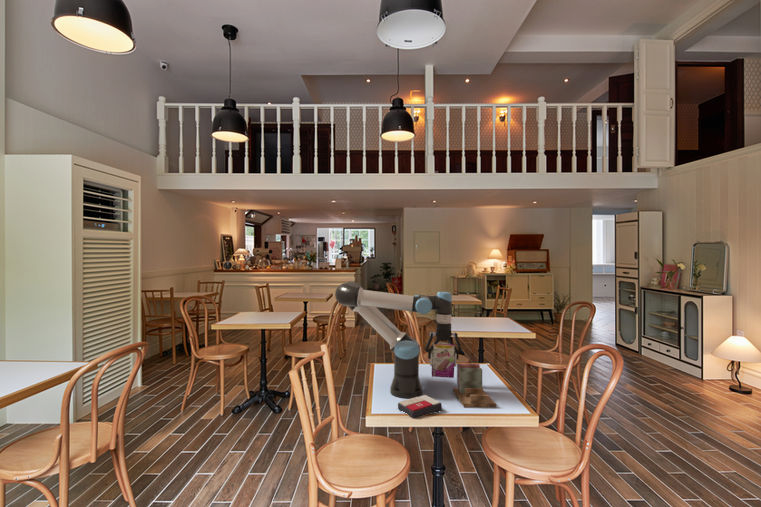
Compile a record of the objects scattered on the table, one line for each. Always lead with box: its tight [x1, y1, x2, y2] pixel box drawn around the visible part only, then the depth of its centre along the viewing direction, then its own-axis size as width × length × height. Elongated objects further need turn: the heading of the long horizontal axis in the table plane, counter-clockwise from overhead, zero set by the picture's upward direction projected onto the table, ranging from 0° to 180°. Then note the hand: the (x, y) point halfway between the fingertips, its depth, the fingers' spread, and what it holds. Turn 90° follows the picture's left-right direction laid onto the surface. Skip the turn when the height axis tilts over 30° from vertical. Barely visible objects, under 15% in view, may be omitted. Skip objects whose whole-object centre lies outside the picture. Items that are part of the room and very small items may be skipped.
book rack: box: [452, 362, 497, 408], centre depth 168 cm, size 14×21×14 cm, turn 2°
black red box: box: [397, 394, 443, 419], centre depth 153 cm, size 11×4×15 cm
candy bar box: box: [431, 341, 456, 379], centre depth 185 cm, size 11×5×16 cm, turn 84°
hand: (443, 365), depth 185 cm, fingers closed on candy bar box, 11 cm apart
